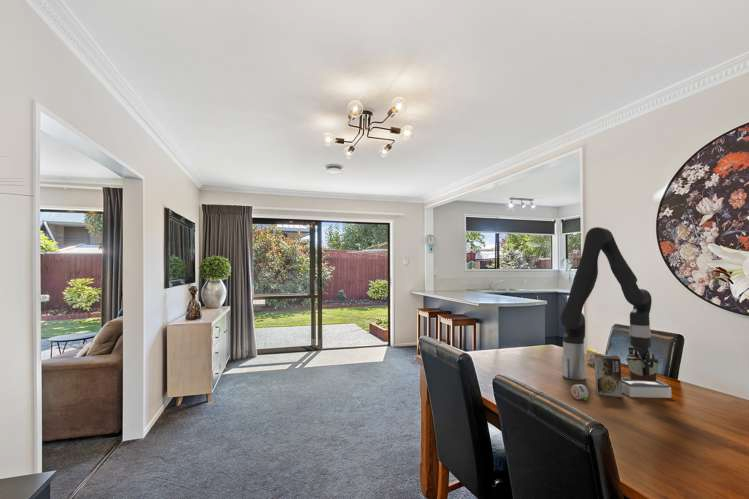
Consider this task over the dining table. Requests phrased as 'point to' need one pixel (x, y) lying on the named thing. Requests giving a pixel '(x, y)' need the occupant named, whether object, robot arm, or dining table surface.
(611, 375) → the coffee box
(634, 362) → the food container
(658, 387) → the base
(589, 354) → the candy box
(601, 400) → the dining table surface
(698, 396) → the dining table surface
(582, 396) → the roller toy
